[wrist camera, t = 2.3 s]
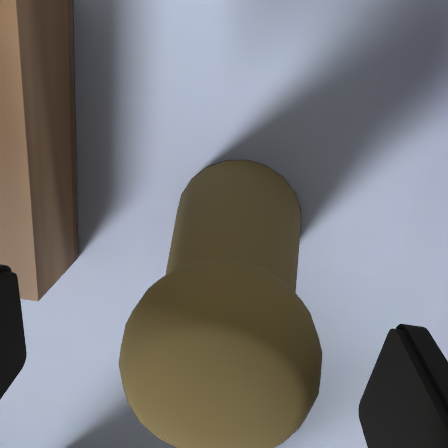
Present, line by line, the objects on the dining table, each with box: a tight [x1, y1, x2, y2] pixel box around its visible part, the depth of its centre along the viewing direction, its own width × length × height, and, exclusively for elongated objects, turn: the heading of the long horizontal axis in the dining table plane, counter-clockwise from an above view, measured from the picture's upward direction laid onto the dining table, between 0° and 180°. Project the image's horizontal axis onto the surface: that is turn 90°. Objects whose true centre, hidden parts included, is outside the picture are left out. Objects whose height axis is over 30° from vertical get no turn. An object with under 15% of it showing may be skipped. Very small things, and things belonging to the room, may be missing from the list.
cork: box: [119, 160, 322, 448], centre depth 14 cm, size 6×6×11 cm
